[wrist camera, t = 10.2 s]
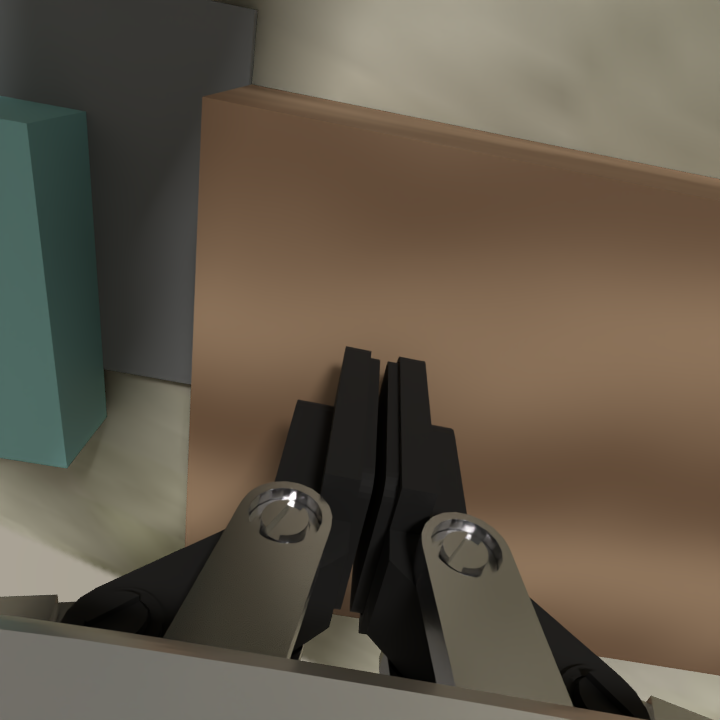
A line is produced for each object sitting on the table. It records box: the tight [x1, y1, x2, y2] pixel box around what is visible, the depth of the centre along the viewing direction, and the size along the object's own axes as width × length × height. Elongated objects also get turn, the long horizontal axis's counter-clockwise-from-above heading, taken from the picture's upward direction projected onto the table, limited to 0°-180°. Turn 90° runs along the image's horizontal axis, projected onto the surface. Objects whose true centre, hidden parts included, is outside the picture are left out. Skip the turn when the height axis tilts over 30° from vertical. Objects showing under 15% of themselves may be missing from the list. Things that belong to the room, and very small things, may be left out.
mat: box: [0, 0, 258, 384], centre depth 14 cm, size 10×12×1 cm
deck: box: [185, 84, 720, 675], centre depth 15 cm, size 13×22×4 cm, turn 80°
